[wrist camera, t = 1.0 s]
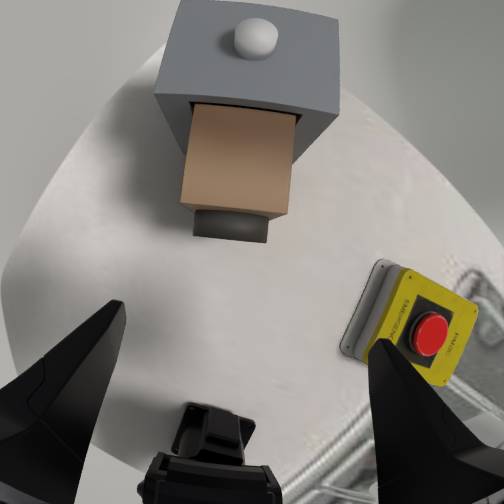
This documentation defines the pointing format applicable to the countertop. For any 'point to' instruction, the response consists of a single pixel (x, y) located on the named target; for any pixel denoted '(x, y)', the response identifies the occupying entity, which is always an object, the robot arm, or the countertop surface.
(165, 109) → the housing
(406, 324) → the emergency button
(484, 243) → the countertop surface
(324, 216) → the countertop surface
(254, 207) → the plunger
